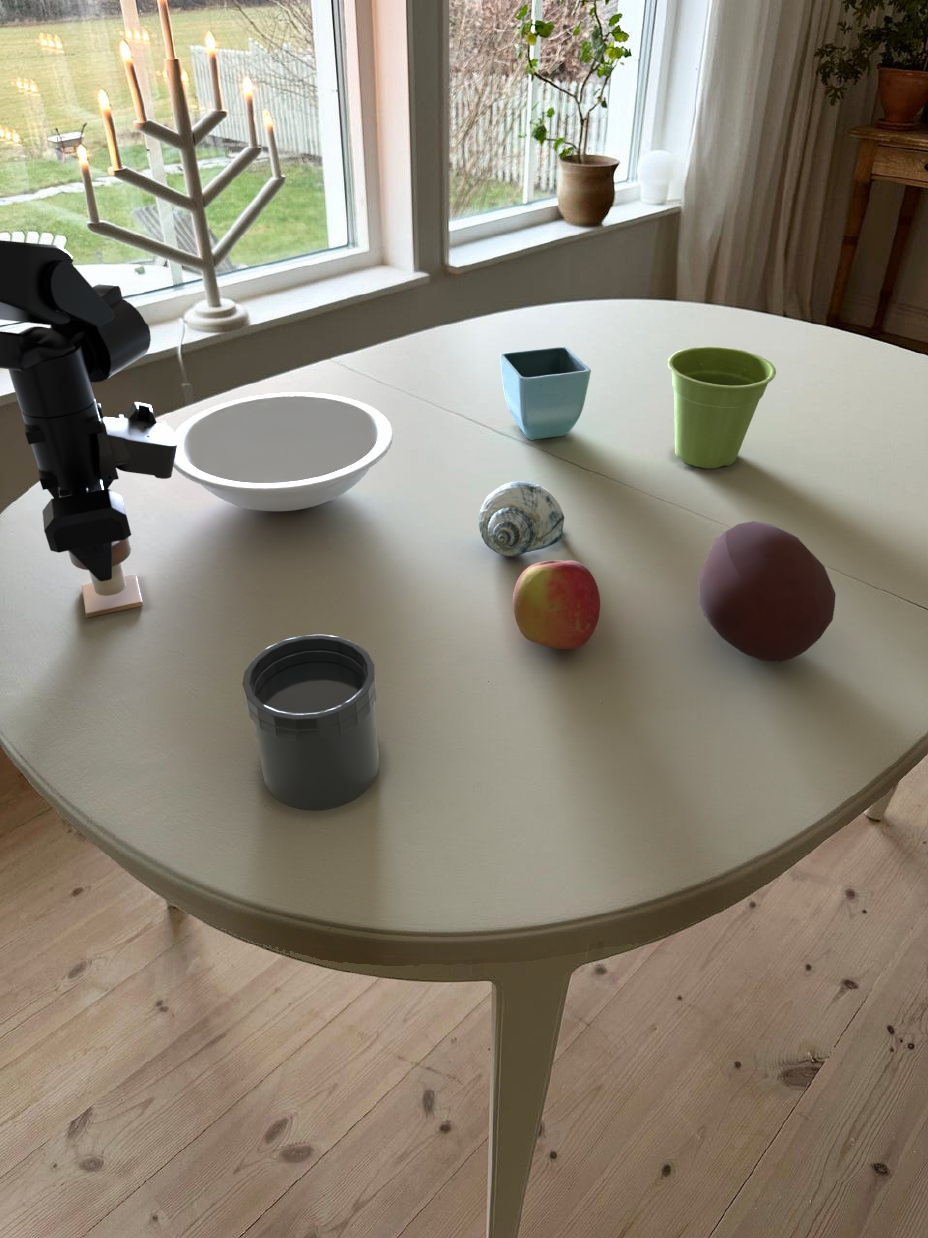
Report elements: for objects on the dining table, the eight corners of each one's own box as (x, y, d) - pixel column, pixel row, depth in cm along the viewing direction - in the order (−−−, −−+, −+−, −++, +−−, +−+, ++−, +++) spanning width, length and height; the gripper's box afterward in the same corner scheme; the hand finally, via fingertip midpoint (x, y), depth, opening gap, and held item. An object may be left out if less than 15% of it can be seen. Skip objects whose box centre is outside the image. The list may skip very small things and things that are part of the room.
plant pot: (666, 480, 105) (679, 386, 98) (647, 435, 115) (659, 346, 108) (769, 479, 105) (790, 385, 98) (742, 434, 115) (759, 345, 108)
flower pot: (497, 420, 118) (498, 352, 113) (562, 412, 120) (566, 345, 115) (518, 450, 111) (520, 378, 106) (586, 441, 113) (592, 370, 108)
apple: (608, 625, 83) (617, 550, 78) (581, 679, 77) (588, 601, 72) (529, 606, 85) (533, 531, 81) (496, 656, 79) (498, 579, 75)
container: (276, 827, 64) (258, 733, 59) (249, 743, 71) (231, 652, 66) (398, 790, 67) (392, 697, 62) (361, 713, 74) (352, 623, 68)
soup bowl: (299, 572, 90) (292, 513, 86) (131, 506, 100) (117, 451, 97) (437, 474, 106) (436, 421, 102) (279, 426, 117) (273, 376, 113)
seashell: (573, 544, 97) (488, 585, 90) (530, 494, 99) (444, 531, 93) (597, 505, 92) (509, 546, 85) (551, 454, 94) (462, 489, 88)
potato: (712, 695, 75) (734, 591, 69) (672, 602, 86) (687, 504, 80) (844, 689, 76) (878, 585, 70) (788, 597, 86) (813, 499, 80)
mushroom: (83, 608, 83) (67, 556, 80) (79, 579, 87) (63, 528, 84) (142, 595, 85) (129, 544, 82) (136, 567, 89) (123, 516, 85)
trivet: (86, 618, 84) (85, 613, 84) (82, 589, 88) (81, 584, 87) (143, 605, 86) (142, 601, 85) (136, 578, 89) (135, 573, 89)
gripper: (176, 432, 71) (209, 599, 80) (145, 351, 85) (177, 501, 94) (20, 458, 67) (74, 629, 77) (15, 369, 81) (61, 523, 90)
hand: (103, 564), depth 84 cm, fingers closed on mushroom, 5 cm apart
